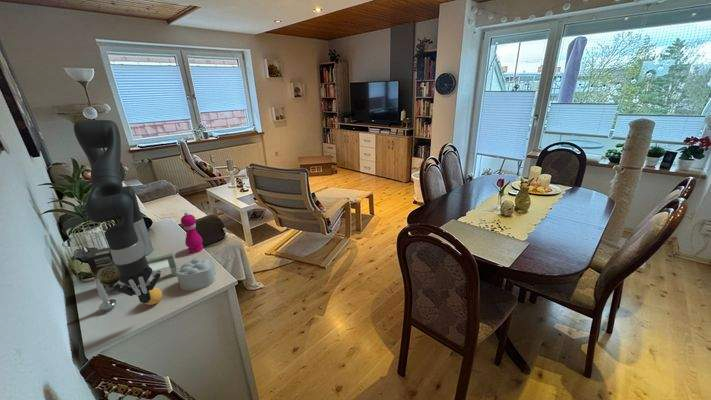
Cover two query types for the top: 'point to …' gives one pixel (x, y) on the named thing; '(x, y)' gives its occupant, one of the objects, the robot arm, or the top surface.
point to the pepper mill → (191, 233)
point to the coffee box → (103, 268)
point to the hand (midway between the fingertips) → (146, 301)
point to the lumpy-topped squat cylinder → (196, 274)
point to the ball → (155, 296)
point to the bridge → (165, 257)
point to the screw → (104, 297)
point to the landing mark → (160, 264)
